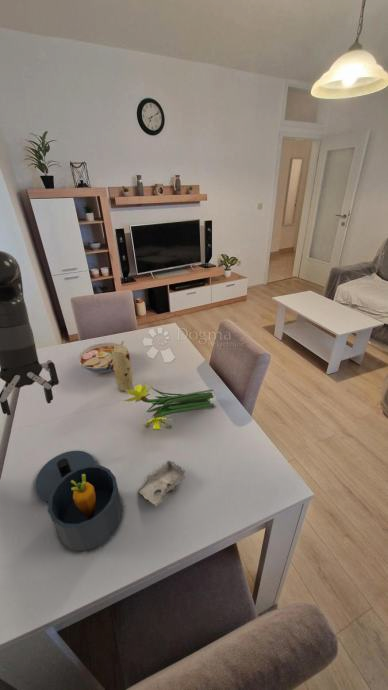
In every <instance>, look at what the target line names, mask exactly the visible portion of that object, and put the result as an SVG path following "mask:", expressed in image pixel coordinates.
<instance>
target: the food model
mask: <svg viewBox="0 0 388 690" xmlns="http://www.w3.org/2000/svg"><path fill="white" fill-rule="evenodd" d="M120 344H121V343H119V344H117V345H115V346H114V351H112V359H113V366H114V370H113V372H114V377H115V381H116V386H117V388H118V389H119V390H120V391H122V392H127V391H126V390H125V389H128V390H133V386H134V377H133V368H132V362H131V358H130V352H129V349H128V348H127V347H126V345H124V344H123V345H120Z"/></svg>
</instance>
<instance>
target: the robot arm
mask: <svg viewBox="0 0 388 690" xmlns="http://www.w3.org/2000/svg"><path fill="white" fill-rule="evenodd" d="M36 346H37V345H36V342H35V336H34V332H33V329H32V326H31V323H30V318H29V313H28V309H27V306H26V301H25V298H24V287H23V278H22V272H21V267H20V264H19V262H18V260H17V259H16V258H15V257H14V256H13V255H12V254H10V253H8V252H6V251H2V250H0V379H1V380H2V381H4V382H5V383H4V385H3V386H2V389H1V391H0V408H1V411H2V414H3V415H5V414H6V415H7V416H11V414H12V413H11V409H10V408H11V407H10V405H9V400H8V398H9V396H10V394H12V392H13V390H14V389H15V388H17V389H20V388H22V387H25V386H31V385H33V384H35V383H37V384H38V385H39V386H42V387H43V392H44V397H45V401H46V403H47V404H51V403H52V401H53V400H54V395H53V390H52V389H53V387H54V386H58V385H59V384H60V381H59V377H58V373H57V369H56V365H55V363H54V362H53V360H51V359H48V360H47V361H46V362H43V363H40V362H39V357H38V352H37V347H36ZM43 369H44V370H45V371H46V372H48V373H49V377H50V379H49V380H46V379H45V378H44V377H42V376H41V375H40V374H41V373H42V370H43Z"/></svg>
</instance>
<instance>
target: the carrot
mask: <svg viewBox="0 0 388 690" xmlns="http://www.w3.org/2000/svg"><path fill="white" fill-rule="evenodd" d="M71 483H73V484H74V485H75V486H76V487H72V488H71V489H72V490H74V493H73V500H74V502H75V504H76V506H77V508H78V509H79V510H80V511H81V512H82V513H83V514H84V515H85V516H87V517H91V516H92V515H93V514H94V512H95V506H96V495H95V490H94V487H93V485H91V484H90V483H88V482H86V475H85V474H82V483H78V484H77V483H76V482H75V481H73V480H71Z"/></svg>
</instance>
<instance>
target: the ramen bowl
mask: <svg viewBox="0 0 388 690" xmlns="http://www.w3.org/2000/svg"><path fill="white" fill-rule="evenodd" d="M124 342H125V340H122V341H121V343H119V342H112V341H108V342H99V343H95V344H91V345H89V346H87V347H86V348H84V349H83V350H81V351H80V352H79V353H78V355H77V358H76V360H77V362H78V364H79V365H80V367H82V368H84V369H86V370H88V371H89V372H92V373H98V374H101V373H102V374H103V373H108V372H112V371H114V366H113V359H112V351H114V346H115V345H117V344H120V345H124Z"/></svg>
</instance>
